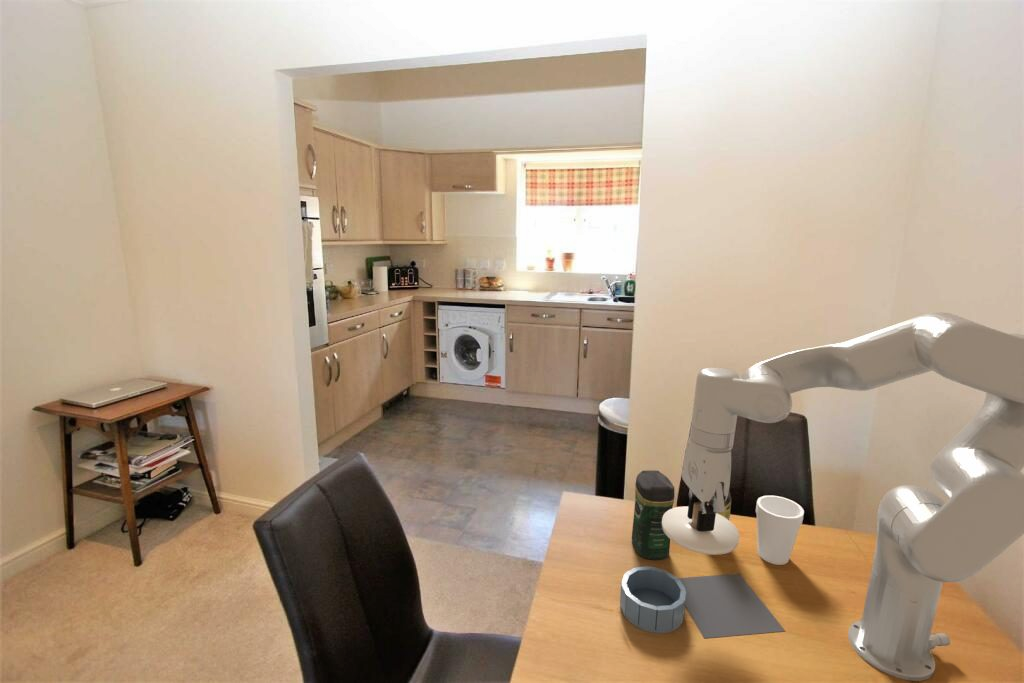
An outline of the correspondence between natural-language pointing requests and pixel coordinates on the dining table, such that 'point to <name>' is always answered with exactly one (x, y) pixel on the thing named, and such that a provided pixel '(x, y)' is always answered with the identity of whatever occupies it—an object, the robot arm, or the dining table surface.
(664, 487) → the coffee jar
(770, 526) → the foam cup
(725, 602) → the mat
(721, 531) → the lid
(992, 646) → the dining table surface
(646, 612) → the bowl
